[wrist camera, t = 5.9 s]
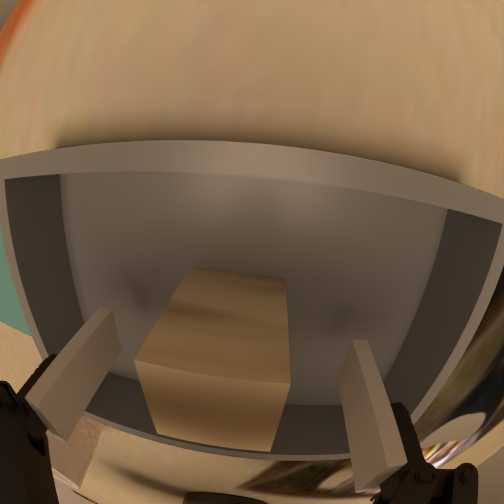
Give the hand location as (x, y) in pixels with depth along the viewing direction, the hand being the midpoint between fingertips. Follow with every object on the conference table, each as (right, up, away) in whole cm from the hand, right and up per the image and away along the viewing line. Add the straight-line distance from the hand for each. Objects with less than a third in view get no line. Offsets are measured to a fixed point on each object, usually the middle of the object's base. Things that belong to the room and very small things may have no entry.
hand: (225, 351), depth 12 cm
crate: (0, +1, +3) cm, 4 cm away
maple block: (0, +1, +3) cm, 3 cm away
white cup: (-18, -12, +11) cm, 24 cm away
